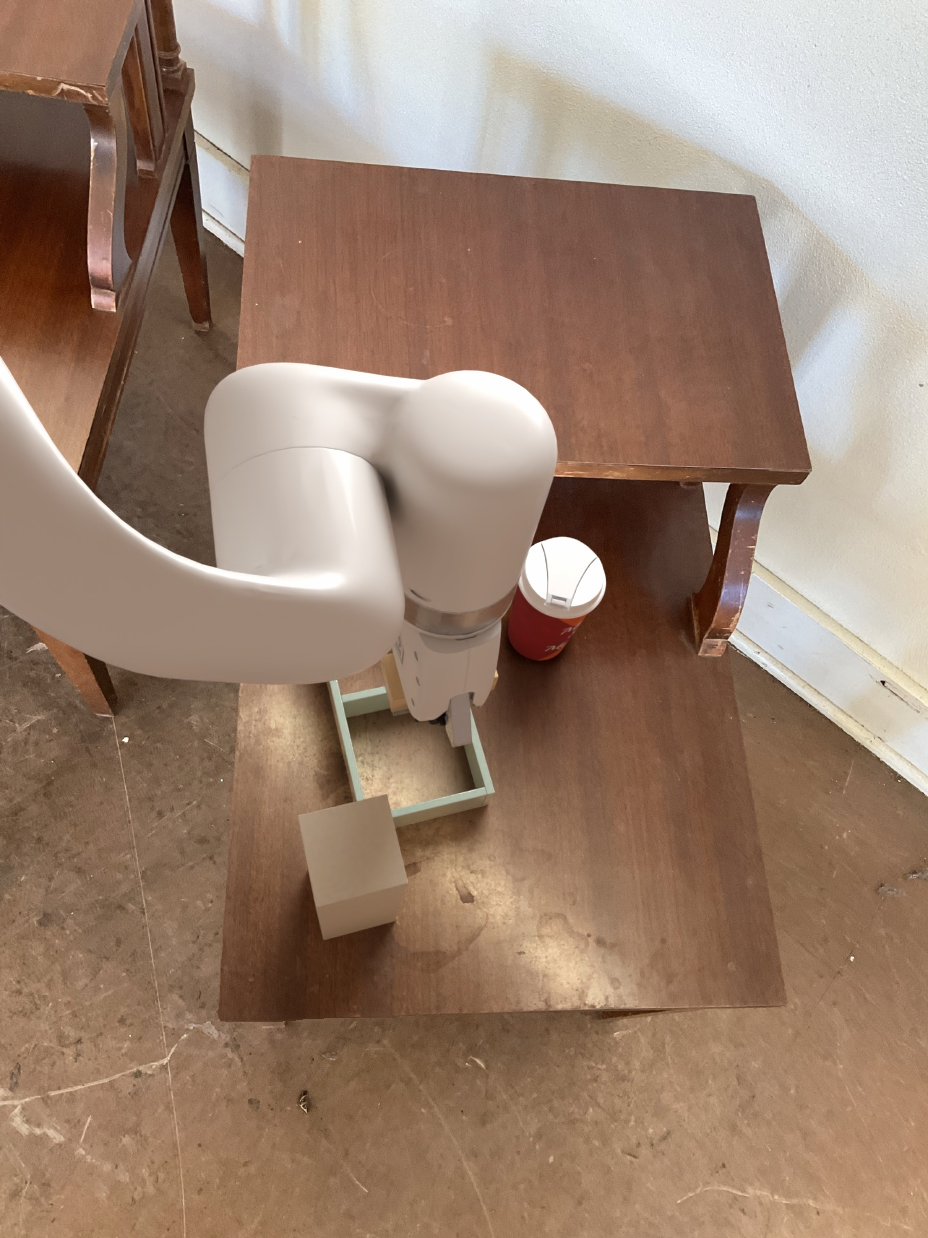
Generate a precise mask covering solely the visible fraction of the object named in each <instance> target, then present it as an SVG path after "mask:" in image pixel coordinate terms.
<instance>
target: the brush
mask: <svg viewBox="0 0 928 1238" xmlns="http://www.w3.org/2000/svg"><path fill="white" fill-rule="evenodd" d="M380 673H381V677H382V682H383V686H385V689H386V693H387V697H388V701H389V705H390V708H389V709H390V712H391V713H392V716H393V717H397V716H401V715H406V714H411V713H410V711H409V708H408V705H407V702H406V699H405V695H404V692H403V688H402V684H401V681H400V677H399V673H398V669H397V666H396V662H395V658H394V654H393V652H391V653H387V654H386V655H385V656H384V657H383V658H382V659H381V660H380ZM498 680H499V674H498V670H497V669H496V672H495V676H494V681H493V684H492V688H491V691H493V690H495V687H496V685H497V682H498ZM470 700H471V697H470Z"/></svg>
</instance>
